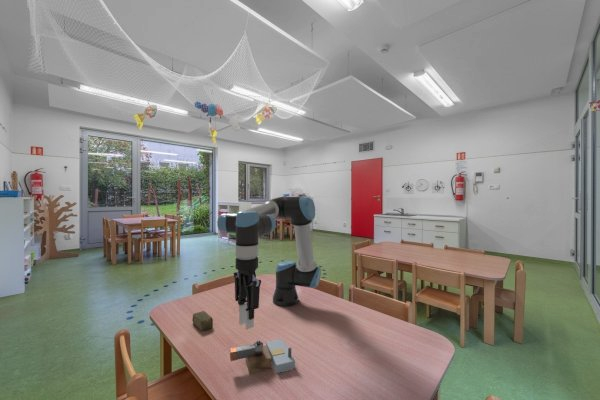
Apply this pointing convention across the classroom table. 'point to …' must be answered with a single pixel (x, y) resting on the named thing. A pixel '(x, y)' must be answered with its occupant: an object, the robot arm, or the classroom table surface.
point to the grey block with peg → (280, 355)
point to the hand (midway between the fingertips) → (246, 325)
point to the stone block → (202, 320)
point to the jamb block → (259, 362)
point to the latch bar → (246, 351)
